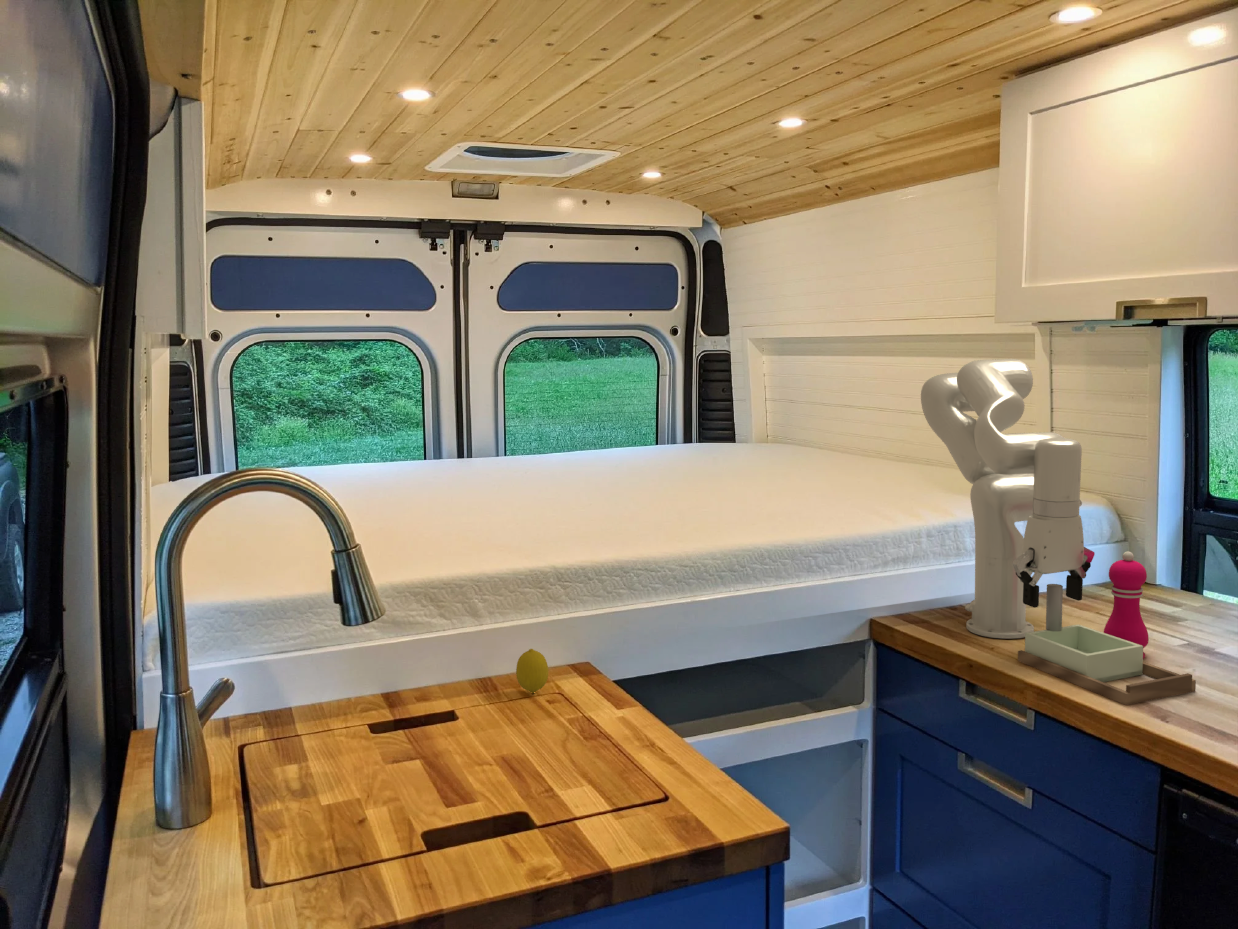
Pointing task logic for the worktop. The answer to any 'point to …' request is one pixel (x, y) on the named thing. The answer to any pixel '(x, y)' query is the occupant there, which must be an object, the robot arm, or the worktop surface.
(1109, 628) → the pepper mill
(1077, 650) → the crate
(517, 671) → the lemon
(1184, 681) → the bay
